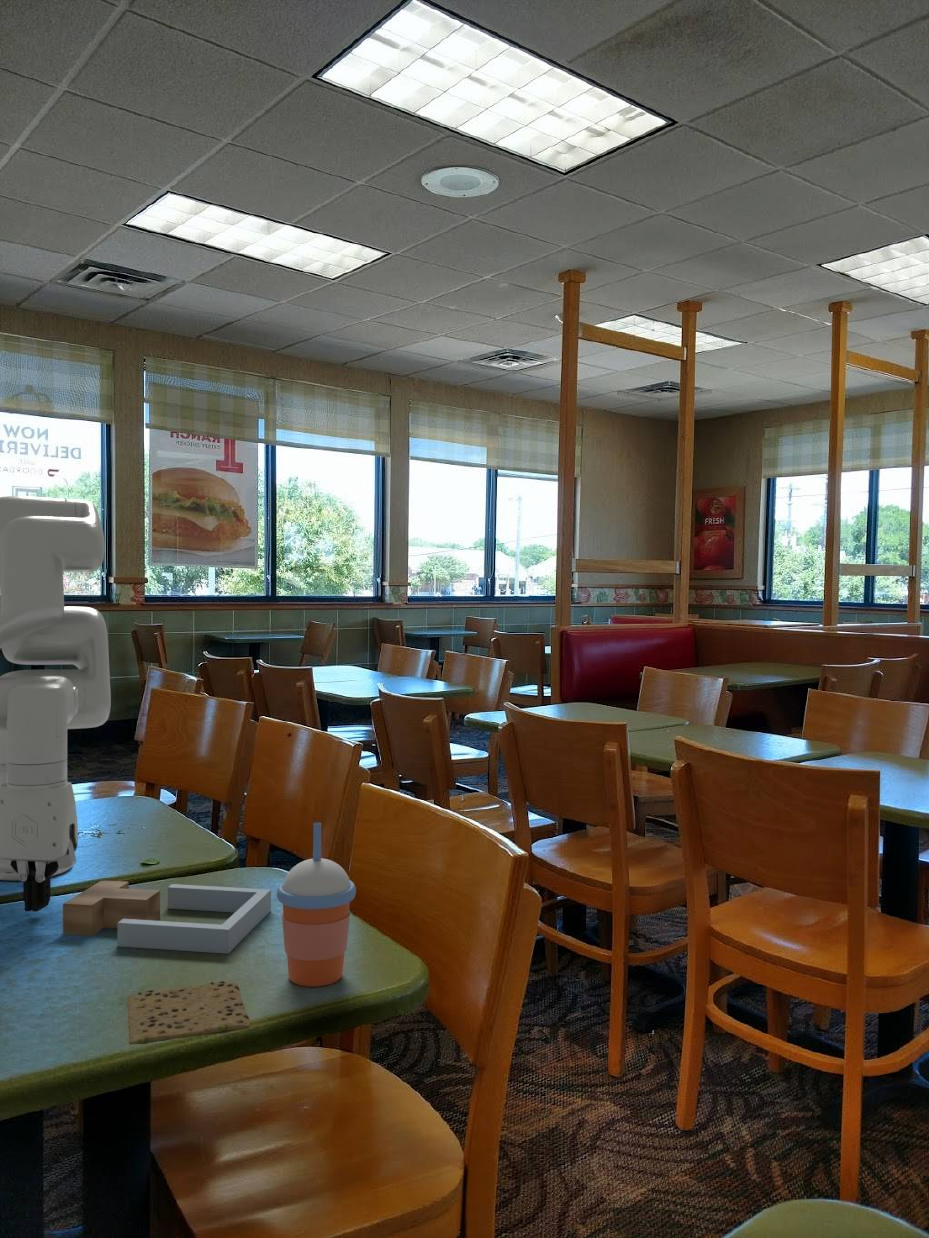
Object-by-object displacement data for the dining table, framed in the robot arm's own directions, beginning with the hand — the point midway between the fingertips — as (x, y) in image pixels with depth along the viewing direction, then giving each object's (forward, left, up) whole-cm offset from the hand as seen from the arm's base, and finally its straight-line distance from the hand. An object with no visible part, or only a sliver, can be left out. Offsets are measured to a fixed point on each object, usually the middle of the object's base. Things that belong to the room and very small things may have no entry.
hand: (36, 907), depth 130 cm
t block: (0, +12, -1) cm, 12 cm away
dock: (0, +23, -1) cm, 23 cm away
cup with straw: (+13, +43, -2) cm, 45 cm away
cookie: (+24, +32, -2) cm, 40 cm away
